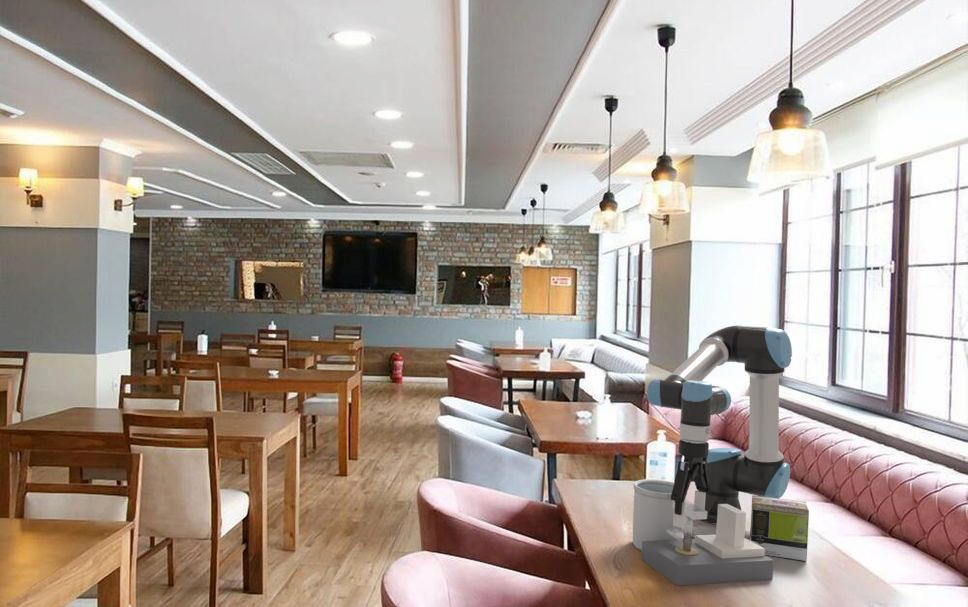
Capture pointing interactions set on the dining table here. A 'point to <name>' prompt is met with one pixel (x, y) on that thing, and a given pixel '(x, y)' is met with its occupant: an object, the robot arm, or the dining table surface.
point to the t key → (688, 524)
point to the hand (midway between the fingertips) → (688, 521)
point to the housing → (702, 564)
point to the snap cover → (730, 535)
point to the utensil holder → (652, 511)
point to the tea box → (780, 527)
